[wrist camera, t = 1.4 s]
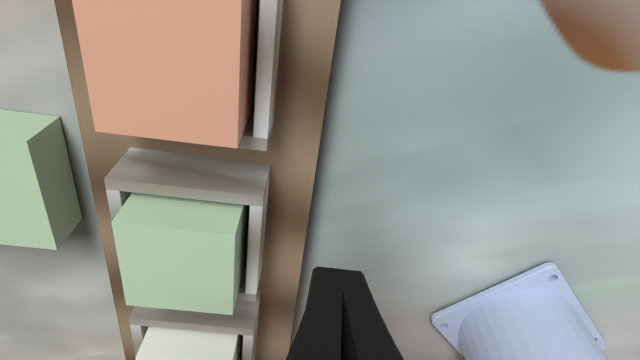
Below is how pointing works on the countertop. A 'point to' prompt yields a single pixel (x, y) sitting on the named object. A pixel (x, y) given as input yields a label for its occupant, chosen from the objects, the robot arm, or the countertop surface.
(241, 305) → the button console
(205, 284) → the sage button
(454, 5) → the countertop surface
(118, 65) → the terracotta button
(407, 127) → the countertop surface
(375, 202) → the countertop surface
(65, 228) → the block
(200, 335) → the cream button
